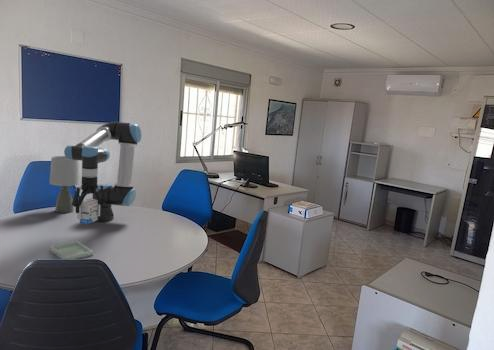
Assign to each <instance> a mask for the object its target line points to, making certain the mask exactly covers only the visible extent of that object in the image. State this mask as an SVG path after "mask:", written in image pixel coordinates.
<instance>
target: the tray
mask: <svg viewBox="0 0 494 350" xmlns="http://www.w3.org/2000/svg"><path fill="white" fill-rule="evenodd" d="M50 252H51V253H52V254H54V255H55V256H57V257H58V258H59V259H60V260H61V259H75V260H79V259H85V258H87V257H91V256H93V255H94V251H93V250H92V249H90V248H89V247H87V246H86V245H85V244H83V243H82V242H80V241H75V242H69V243H63V244H59V245H53V246H50Z"/></svg>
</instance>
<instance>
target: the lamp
mask: <svg viewBox="0 0 494 350" xmlns="http://www.w3.org/2000/svg"><path fill="white" fill-rule="evenodd" d="M50 161H51V163H50V170H49V171H50V172H49V183H48V184H49V185H52V186H57V187H58V186H60V187H59V189H60V191H59V192H58V195H57V198H56V204H55V208H54V209H55V210H54V212H56V213H58V214H69V213H73V212H74V210H75V209H74V208H75V207H74V206H72V201H73V196H72V193H71V191H70V189H71V187H72V186H79V185H81V170H80V169H81V167H80V166H81V165H80V160H72V159H67V158H66V157H65V155H63V156H61V155H59V156H58V155H57V156H52V157H51V160H50Z"/></svg>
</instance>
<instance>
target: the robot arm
mask: <svg viewBox="0 0 494 350" xmlns="http://www.w3.org/2000/svg"><path fill="white" fill-rule="evenodd" d="M141 139H142V131H141V127H140V125H138V124H137V123H132V122H122V121H121V122H120V121H111V122H107V123H105V124H103V125H101V126H99V127H98V128H97V129H96V131H95V132H92V134H90V135H89V136H87V137H86V138H84V139H83V140H82V141H80V142H79V143H77V144H76V145H67V146H65V148H64V151H63V154H64V156H65V157H66V158H67V159H72V160H79V161H80V162H81V184H80V185H81V186H78V187H77V186H75V187H74V190H75V191H74V196H73V197H72V200H73V201H72V206H73V208H75V213H76V218H77V220H79V221H80V219H81V207H80V205H81V203H82V201H83V200H85V197H86V196H87V195H90V194H92V199H97V200H98V220H96V221H95V222H99V223H101V222H102V223H105V222H110V221H113V220H114V218H115V216H114V215H115V214H114V212H113V208H112V206H121V207H131V206H132V205H133V203H134V201H135V200H136V196H137V190H136V189H135V188H134V185H133V184H132V178H133V177H132V176H133V166H134V155H135V147H137V146H138V143H140V142H141ZM110 140H117V141H118V145H120V149H119V159H118V167H117V168H118V169H117V171H118V172H117V181H116V183H115V184H114V186H113V184H112V183H99V184H98V178H99V177H98V173H99V172H98V169H99V168H98V166H99V164H100V163H104V162H106V161H108V160H109V159H110V151H109V150H108V149H107V148H104V147H100V145H102V144H103V143H104V142H108V141H110ZM81 190H82V191H81ZM80 192H81V193H80Z"/></svg>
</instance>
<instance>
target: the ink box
mask: <svg viewBox="0 0 494 350" xmlns="http://www.w3.org/2000/svg"><path fill="white" fill-rule="evenodd" d="M80 207H81V219H80V220H79V223H80V224H84V225H89V224H92V223H94V222H96V220H98V200H97V199H93V197H89V198H86V199H83V201H82V203H81V205H80Z"/></svg>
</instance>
